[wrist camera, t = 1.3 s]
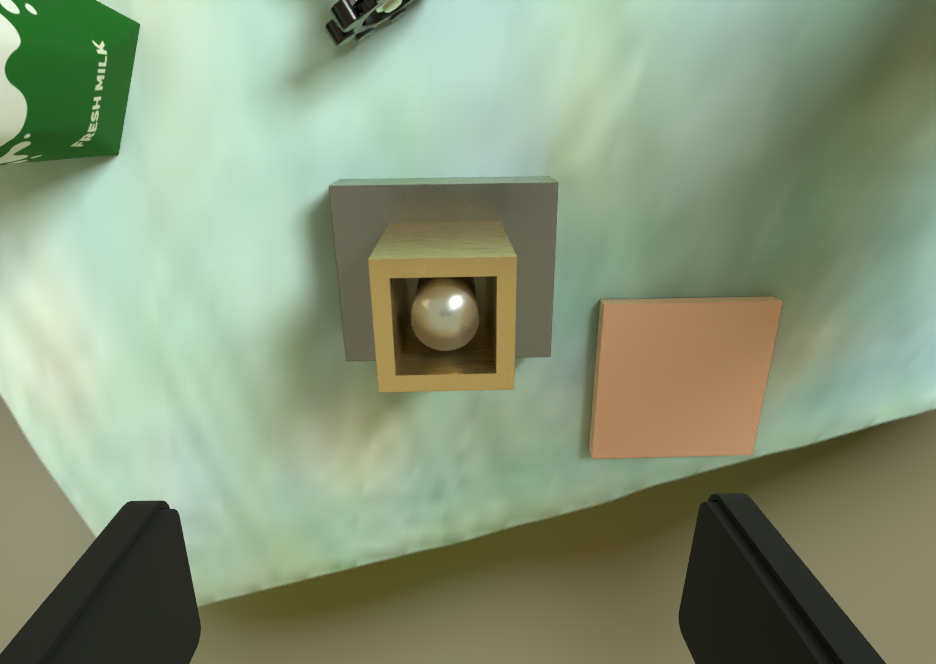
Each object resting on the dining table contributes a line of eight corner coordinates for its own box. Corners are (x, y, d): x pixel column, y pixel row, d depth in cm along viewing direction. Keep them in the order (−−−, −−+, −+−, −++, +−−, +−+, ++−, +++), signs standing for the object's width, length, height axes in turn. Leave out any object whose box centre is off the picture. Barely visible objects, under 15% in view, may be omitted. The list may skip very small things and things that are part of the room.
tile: (774, 296, 35) (782, 301, 35) (745, 446, 39) (752, 454, 39) (600, 299, 35) (604, 304, 34) (588, 450, 39) (591, 458, 38)
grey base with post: (549, 176, 32) (588, 201, 23) (542, 337, 36) (574, 416, 27) (339, 179, 32) (293, 206, 23) (354, 341, 36) (320, 422, 27)
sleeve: (500, 221, 30) (516, 256, 23) (499, 326, 33) (514, 389, 25) (388, 223, 30) (368, 259, 23) (395, 328, 32) (378, 392, 25)
